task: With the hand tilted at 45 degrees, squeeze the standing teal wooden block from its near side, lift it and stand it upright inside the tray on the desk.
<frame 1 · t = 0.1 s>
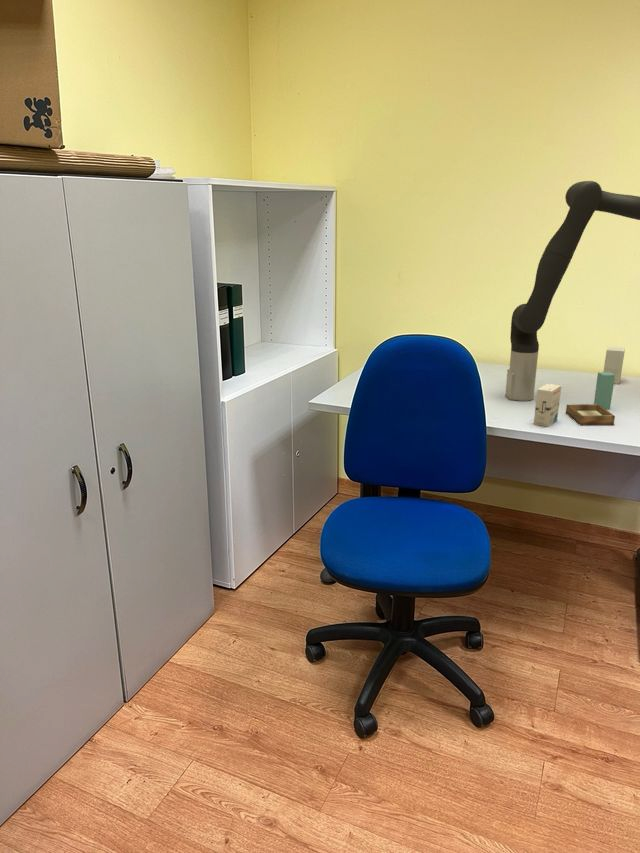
teal block: (601, 407, 219), on the table
tray: (588, 418, 207), on the table
small box: (610, 381, 252), on the table
ink box: (545, 422, 205), on the table
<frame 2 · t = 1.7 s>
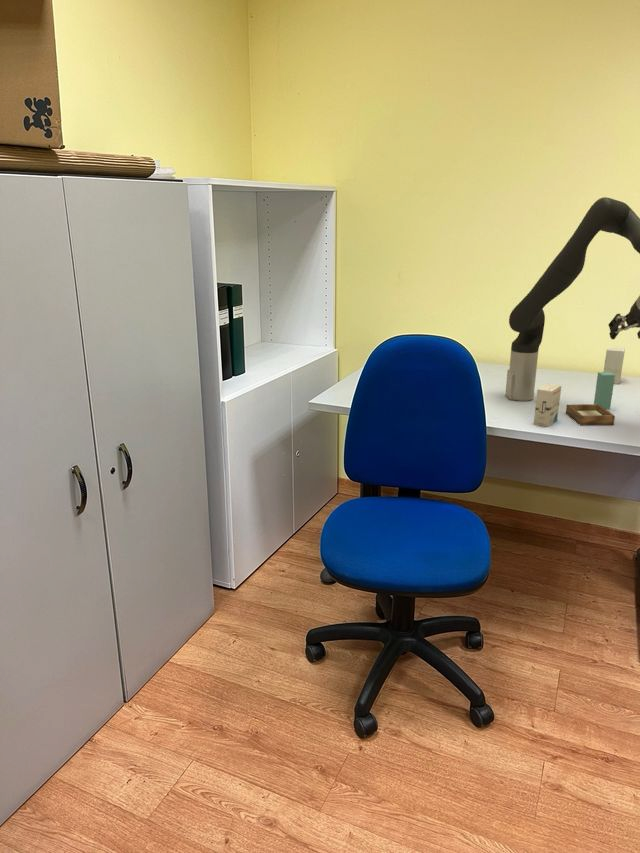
hand: (625, 336, 199), 27 cm above the table, tool tilted 45°, fingers open, 8 cm apart
nothing on the table moved.
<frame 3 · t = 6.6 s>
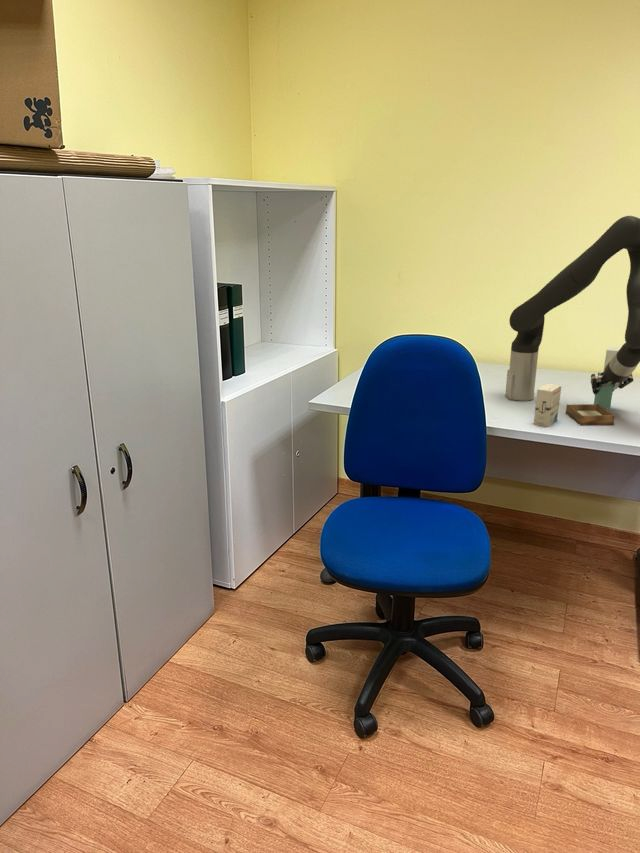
hand: (601, 391, 219), 5 cm above the table, tool tilted 45°, fingers closed on teal block, 4 cm apart
teal block: (601, 407, 219), on the table, touching gripper
everything else where it was.
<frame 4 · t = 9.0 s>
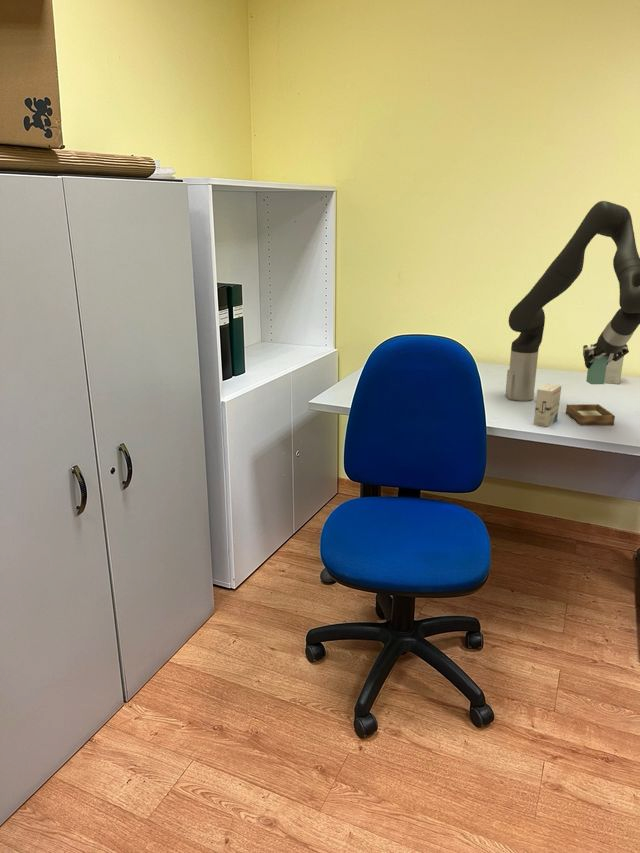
hand: (594, 365, 204), 17 cm above the table, tool tilted 45°, fingers closed on teal block, 4 cm apart
teal block: (595, 382, 204), point 12 cm above the table, touching gripper
everything else where it was.
when the fingers open (7 cm above the table, at t = 11.7 s): teal block drops 1 cm, resting on tray.
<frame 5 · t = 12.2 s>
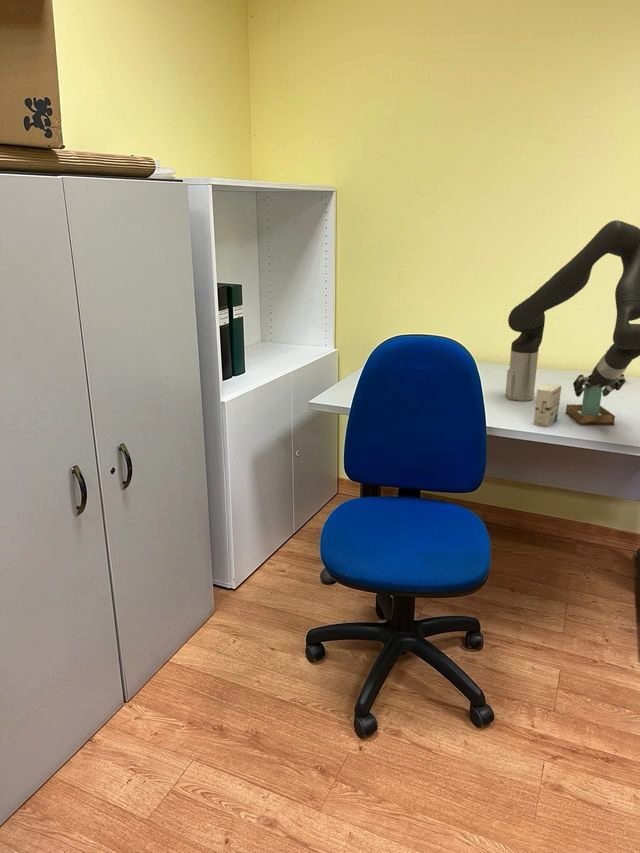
hand: (590, 394, 206), 8 cm above the table, tool tilted 45°, fingers open, 8 cm apart
teal block: (589, 415, 207), point 1 cm above the table, touching tray
everything else where it was.
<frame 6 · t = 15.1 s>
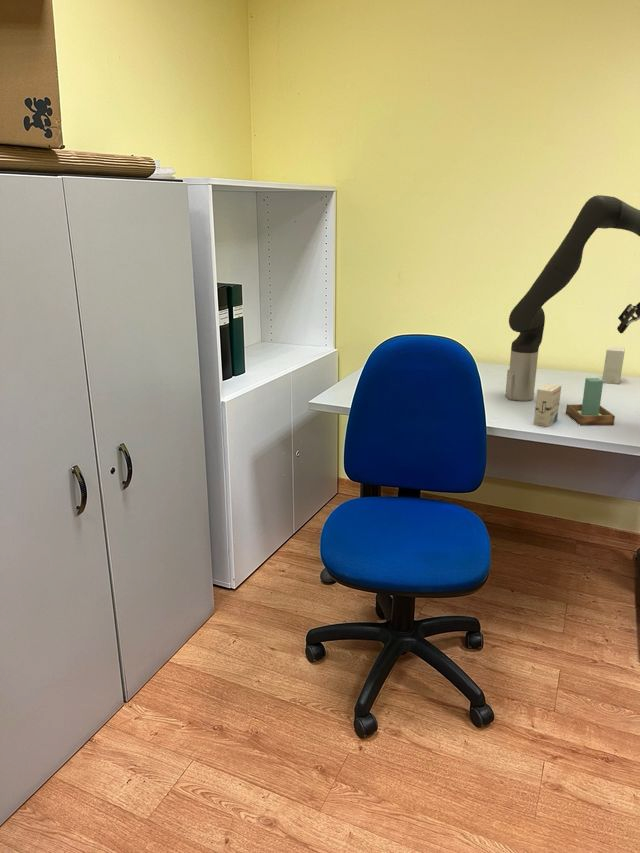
hand: (630, 329, 195), 29 cm above the table, tool tilted 35°, fingers open, 8 cm apart
nothing on the table moved.
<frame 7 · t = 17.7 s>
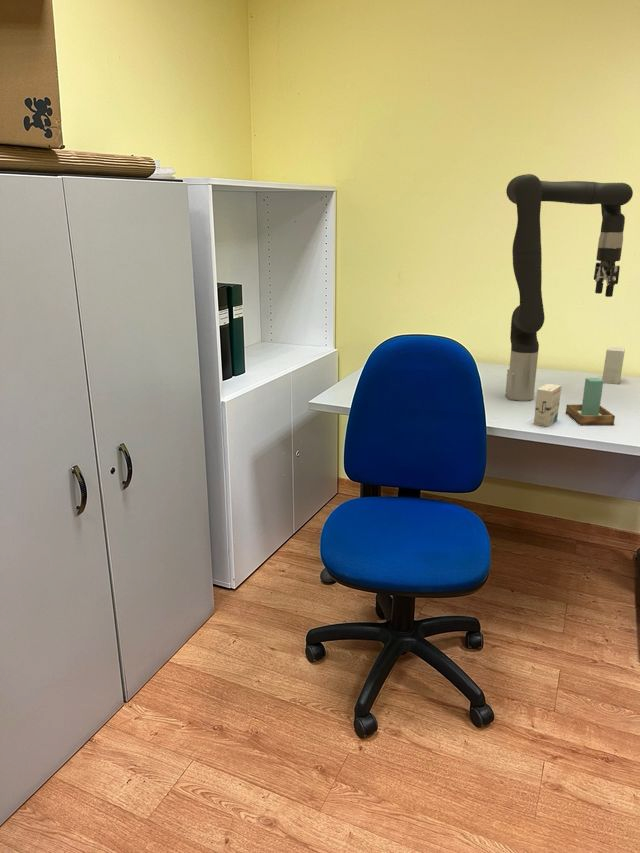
hand: (603, 295, 221), 36 cm above the table, tool pointing down, fingers open, 8 cm apart
nothing on the table moved.
at the end: teal block inside the target area on the tray (0.1 cm from its centre), point 1.1 cm above the tray's base; teal block tilted 0°; the gripper is holding nothing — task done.
